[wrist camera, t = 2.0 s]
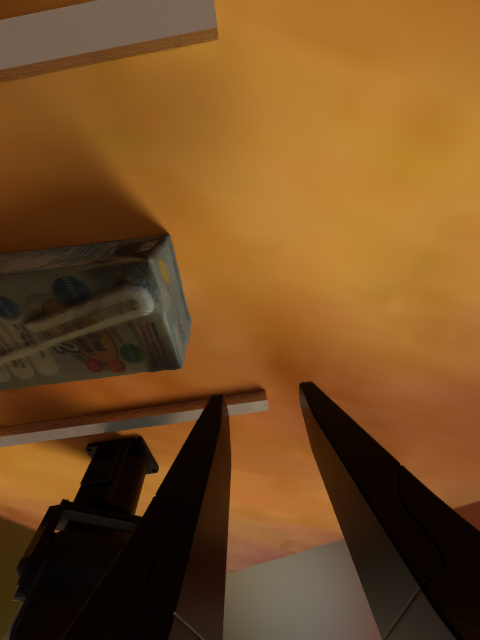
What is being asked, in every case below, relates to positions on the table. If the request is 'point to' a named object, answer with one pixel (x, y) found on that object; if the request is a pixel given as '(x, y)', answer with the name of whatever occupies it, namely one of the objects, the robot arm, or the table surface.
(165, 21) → the bay
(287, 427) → the table surface
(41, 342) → the beverage carton
